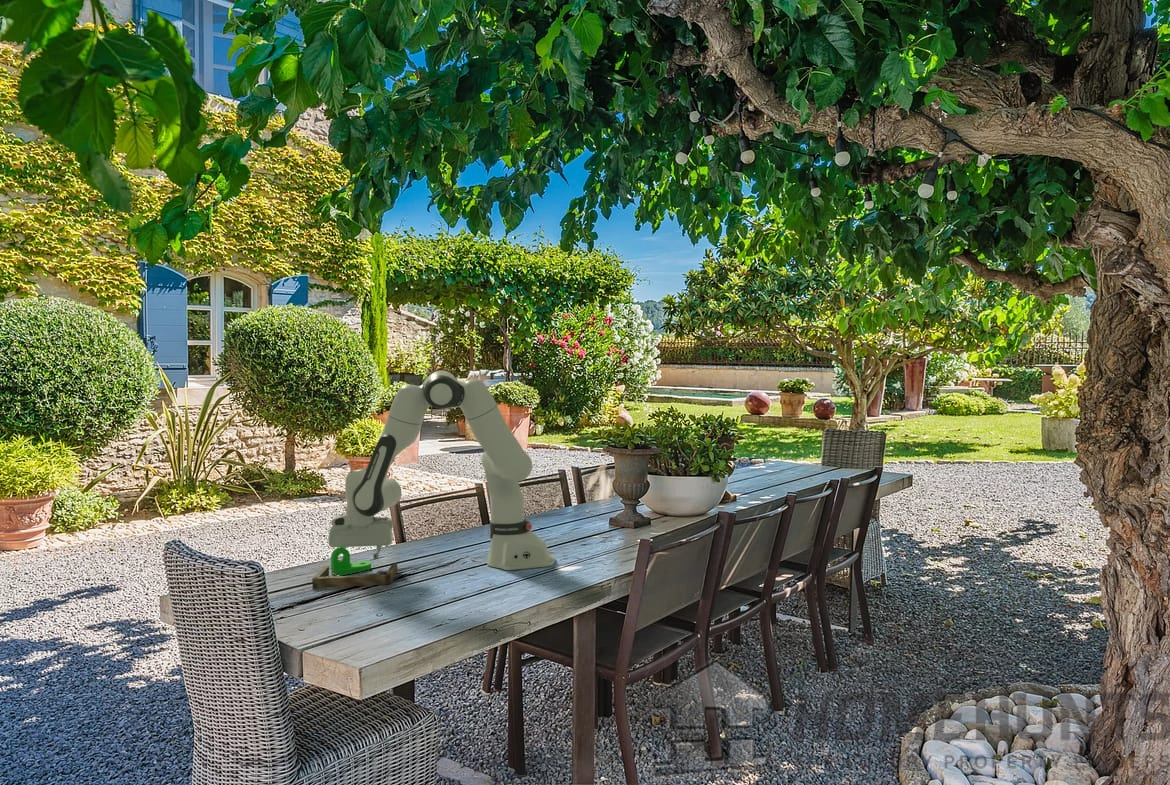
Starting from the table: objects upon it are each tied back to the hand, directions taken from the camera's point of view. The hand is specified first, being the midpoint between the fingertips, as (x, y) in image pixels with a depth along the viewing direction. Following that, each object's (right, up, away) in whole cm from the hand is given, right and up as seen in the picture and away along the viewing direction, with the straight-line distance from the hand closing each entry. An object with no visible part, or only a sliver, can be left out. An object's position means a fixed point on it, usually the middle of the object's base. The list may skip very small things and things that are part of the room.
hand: (361, 559), depth 248 cm
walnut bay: (+2, -4, -12) cm, 13 cm away
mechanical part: (-2, -4, -3) cm, 5 cm away
